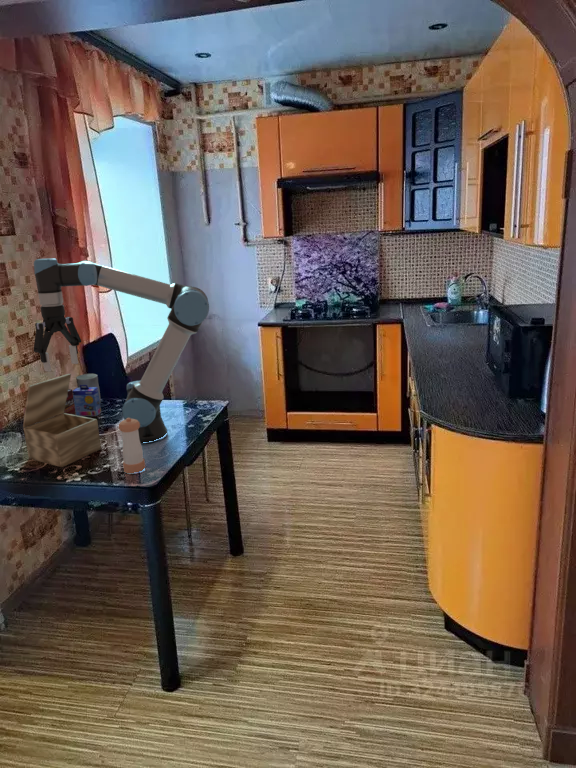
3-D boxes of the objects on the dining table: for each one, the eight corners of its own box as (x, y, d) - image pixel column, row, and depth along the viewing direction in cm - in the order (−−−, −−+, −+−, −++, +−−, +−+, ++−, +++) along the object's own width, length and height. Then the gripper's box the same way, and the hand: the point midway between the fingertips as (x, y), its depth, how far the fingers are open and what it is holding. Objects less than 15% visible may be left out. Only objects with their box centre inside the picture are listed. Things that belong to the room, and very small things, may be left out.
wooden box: (101, 448, 211) (97, 419, 207) (62, 467, 196) (56, 435, 192) (68, 441, 219) (64, 413, 216) (29, 458, 204) (23, 428, 201)
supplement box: (66, 431, 231) (60, 395, 226) (56, 431, 231) (50, 394, 227) (78, 424, 239) (72, 389, 234) (68, 423, 240) (62, 388, 235)
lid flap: (71, 374, 207) (69, 373, 208) (29, 386, 193) (28, 385, 193) (63, 412, 216) (62, 411, 216) (23, 427, 201) (22, 426, 201)
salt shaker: (120, 474, 188) (113, 421, 183) (129, 465, 195) (123, 414, 189) (140, 475, 187) (133, 422, 181) (149, 466, 193) (143, 414, 188)
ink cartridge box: (75, 416, 248) (70, 385, 244) (80, 412, 254) (75, 382, 250) (97, 416, 248) (92, 385, 244) (101, 412, 253) (97, 381, 249)
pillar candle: (79, 402, 269) (74, 372, 265) (100, 399, 273) (96, 369, 268) (80, 408, 260) (76, 377, 256) (102, 404, 264) (98, 374, 260)
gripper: (72, 299, 201) (80, 359, 207) (14, 309, 181) (25, 374, 188) (86, 300, 197) (94, 360, 203) (29, 310, 178) (40, 376, 184)
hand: (61, 367), depth 195 cm, fingers open, 11 cm apart
